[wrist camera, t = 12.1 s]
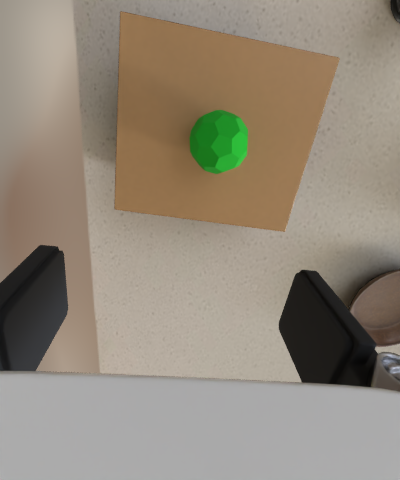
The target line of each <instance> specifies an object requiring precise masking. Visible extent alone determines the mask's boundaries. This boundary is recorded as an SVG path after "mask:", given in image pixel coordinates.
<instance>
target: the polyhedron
mask: <svg viewBox="0 0 400 480" xmlns="http://www.w3.org/2000/svg"><path fill="white" fill-rule="evenodd" d="M247 144H248V129H247V127H246V125H245V124H244V122H243V121H242V119H241V118H240V117H238V116H237V115H235V114H233V113H230V112H227V111H224V110H215V111H212V112H210V113H207V114H205V115H203V116H202V117H200V118H199V119H198V120H197V122H196V123H195V125H194V126H193V128H192V130H191V133H190V152H191V155H192V156H193V158H194V159H195V160H196V162H197V163H198V164H199V166H200V167H201V168H203V169H204V170H205V171H207V172H211V173H214V174H219V173H222V172H225V171H228V170H231V169H233V168H236V167H238V166H239V165H240V164H241V163H242V161H243V160H244V158H245V157H246V156H247Z"/></svg>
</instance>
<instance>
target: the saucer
mask: <svg viewBox="0 0 400 480" xmlns="http://www.w3.org/2000/svg"><path fill="white" fill-rule="evenodd" d="M349 311H350V312H351V313H352V315H353V316H354V317H355V318H356V319H357V321H358V322H359V323H360V324H361V325H362V327H363V328H364V329H365V330H366V331H367V333H368V334H369V335H370V336H371V338H372V339H373V340H374V341H375V342H376V344H377V345H376V347H386V346H392V345H397V344H400V270H395V271H391V272H388V273H385V274H382V275H380V276H378V277H376V278H374V279H373V280H371V281H370V282H368V283H367V284H366V285H365V286H364V287H363V288H362V289H361V290H360V291H359V292H358V293H357V295H356V296H355V298H354V300H353V301H352V304H351V306H350V310H349Z"/></svg>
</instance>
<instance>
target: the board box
mask: <svg viewBox="0 0 400 480" xmlns="http://www.w3.org/2000/svg"><path fill="white" fill-rule="evenodd" d="M339 59H340V58H338V57H334V56H329V55H324V54H319V53H315V52H310V51H305V50H301V49H296V48H291V47H287V46H282V45H277V44H272V43H268V42H263V41H258V40H254V39H249V38H244V37H239V36H235V35H230V34H225V33H221V32H216V31H211V30H206V29H202V28H197V27H192V26H188V25H183V24H178V23H174V22H169V21H164V20H159V19H155V18H150V17H145V16H141V15H136V14H131V13H126V12H122V11H121V12H120V37H119V72H118V106H117V140H116V174H115V209H116V210H123V211H131V212H138V213H146V214H154V215H161V216H169V217H176V218H184V219H192V220H199V221H207V222H214V223H222V224H230V225H237V226H245V227H252V228H260V229H268V230H275V231H283V232H285V230H286V226H287V223H288V220H289V217H290V214H291V211H292V208H293V204H294V201H295V198H296V195H297V192H298V189H299V185H300V182H301V179H302V176H303V173H304V170H305V167H306V163H307V160H308V157H309V154H310V151H311V148H312V144H313V141H314V138H315V135H316V132H317V129H318V126H319V122H320V119H321V116H322V113H323V110H324V107H325V103H326V100H327V97H328V94H329V91H330V88H331V85H332V81H333V78H334V75H335V72H336V69H337V66H338V62H339ZM215 110H224V111H227V112H230V113H233V114H235V115H237V116H238V117H240V118H241V119H242V121H243V122H244V124H245V125H246V127H247V129H248V144H247V156H246V157H245V158H244V160H243V161H242V163H241V164H240V165H239V166H238V167H236V168H233V169H231V170H228V171H225V172H222V173H219V174H214V173H211V172H207V171H205V170H204V169H203V168H201V167H200V166H199V164H198V163H197V162H196V160H195V159H194V158H193V156H192V155H191V152H190V133H191V130H192V128H193V126H194V125H195V123H196V122H197V120H198V119H199V118H200V117H202V116H203V115H205V114H207V113H210V112H212V111H215Z"/></svg>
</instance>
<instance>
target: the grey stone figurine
mask: <svg viewBox="0 0 400 480" xmlns="http://www.w3.org/2000/svg"><path fill="white" fill-rule="evenodd" d="M391 10H392V13H393V16H394V18H395V19H396V21H397V22H399V23H400V0H391Z"/></svg>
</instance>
